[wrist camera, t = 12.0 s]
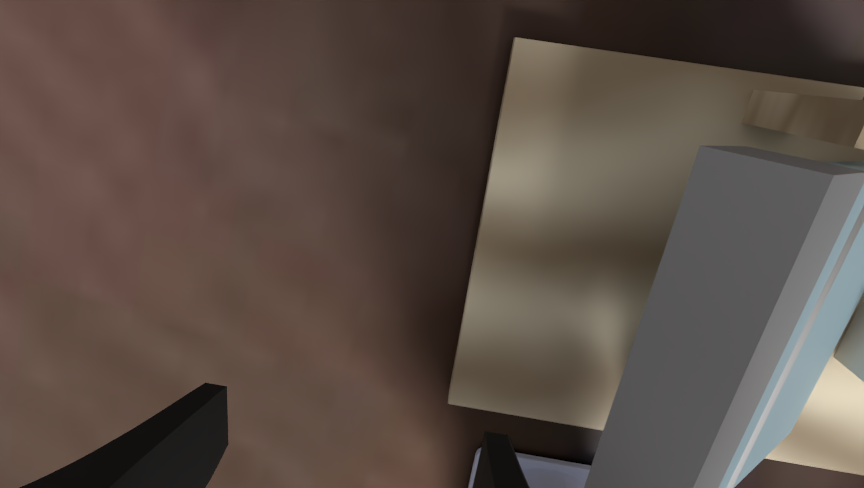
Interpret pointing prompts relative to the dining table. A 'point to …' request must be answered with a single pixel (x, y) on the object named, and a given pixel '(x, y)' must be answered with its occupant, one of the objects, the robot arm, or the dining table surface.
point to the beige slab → (623, 226)
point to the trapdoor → (736, 319)
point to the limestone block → (853, 345)
